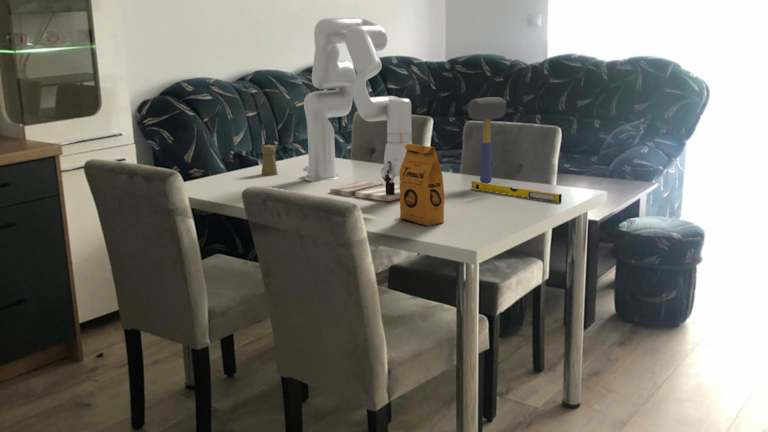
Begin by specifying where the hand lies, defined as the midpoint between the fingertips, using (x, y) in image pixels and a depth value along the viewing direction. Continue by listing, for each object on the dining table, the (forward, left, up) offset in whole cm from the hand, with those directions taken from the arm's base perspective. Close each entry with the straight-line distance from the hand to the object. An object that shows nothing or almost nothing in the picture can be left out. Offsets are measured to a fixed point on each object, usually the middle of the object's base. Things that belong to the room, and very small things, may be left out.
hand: (400, 192), depth 260 cm
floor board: (-11, 0, -3) cm, 11 cm away
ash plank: (-5, 0, -2) cm, 6 cm away
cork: (-69, +6, -3) cm, 69 cm away
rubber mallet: (+6, +39, -3) cm, 40 cm away
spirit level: (+24, +29, -3) cm, 38 cm away
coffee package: (+22, -17, -3) cm, 28 cm away
